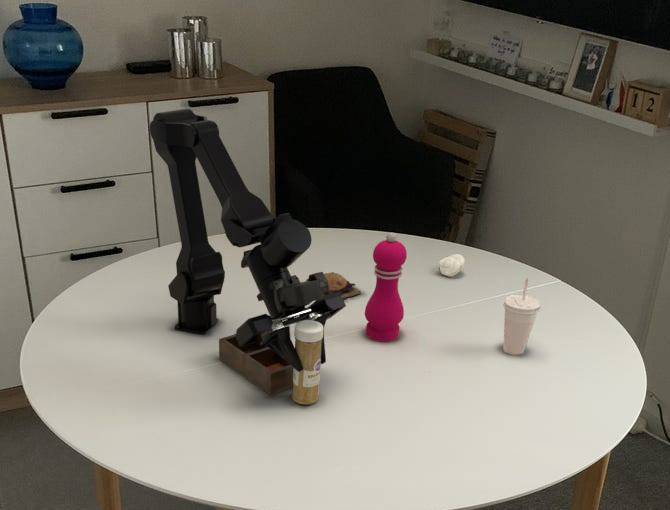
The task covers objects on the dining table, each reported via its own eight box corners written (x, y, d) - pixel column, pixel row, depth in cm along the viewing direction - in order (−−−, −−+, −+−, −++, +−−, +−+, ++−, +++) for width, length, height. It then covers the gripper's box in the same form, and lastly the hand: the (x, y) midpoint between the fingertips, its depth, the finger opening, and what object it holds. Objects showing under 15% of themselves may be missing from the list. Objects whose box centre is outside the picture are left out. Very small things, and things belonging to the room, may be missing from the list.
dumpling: (468, 278, 191) (468, 263, 188) (445, 284, 191) (445, 268, 188) (456, 261, 196) (457, 245, 193) (434, 266, 196) (434, 251, 193)
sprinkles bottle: (315, 407, 144) (319, 333, 137) (288, 402, 145) (291, 329, 138) (321, 394, 148) (326, 321, 140) (295, 389, 149) (299, 317, 141)
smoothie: (534, 346, 163) (548, 275, 156) (528, 361, 158) (542, 288, 151) (499, 339, 166) (511, 269, 158) (492, 353, 161) (504, 282, 153)
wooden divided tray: (219, 359, 158) (218, 339, 156) (256, 347, 162) (256, 327, 160) (270, 395, 147) (270, 374, 145) (308, 381, 151) (309, 360, 149)
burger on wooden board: (363, 294, 183) (365, 278, 181) (331, 303, 179) (333, 287, 177) (331, 277, 190) (332, 261, 188) (299, 285, 186) (300, 269, 184)
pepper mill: (400, 344, 163) (411, 241, 153) (361, 340, 165) (369, 238, 154) (402, 327, 169) (413, 227, 159) (364, 324, 171) (373, 224, 160)
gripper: (246, 271, 132) (288, 366, 130) (342, 245, 141) (383, 334, 139) (218, 301, 141) (256, 389, 140) (309, 275, 151) (347, 358, 149)
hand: (312, 367), depth 142 cm, fingers closed on sprinkles bottle, 4 cm apart
